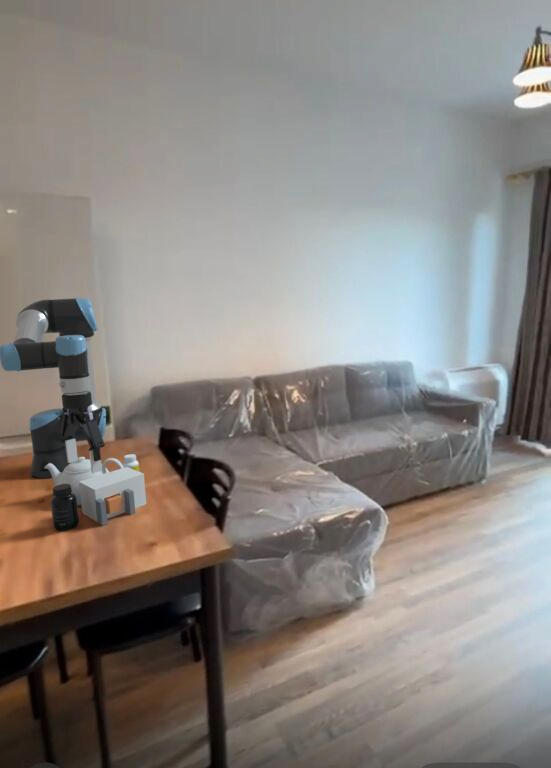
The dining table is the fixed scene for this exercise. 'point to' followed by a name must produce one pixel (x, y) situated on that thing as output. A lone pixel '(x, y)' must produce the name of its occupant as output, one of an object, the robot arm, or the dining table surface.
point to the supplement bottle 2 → (131, 462)
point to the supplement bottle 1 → (64, 508)
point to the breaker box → (112, 493)
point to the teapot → (77, 474)
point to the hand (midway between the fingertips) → (84, 466)
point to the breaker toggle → (113, 504)
